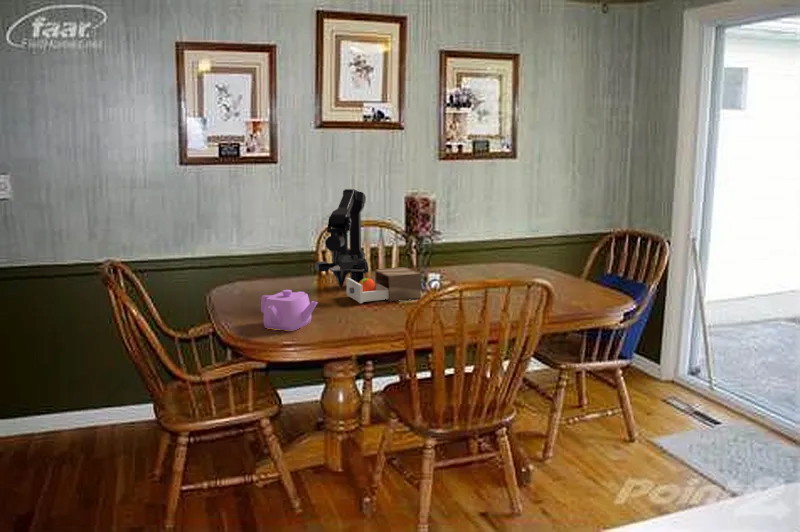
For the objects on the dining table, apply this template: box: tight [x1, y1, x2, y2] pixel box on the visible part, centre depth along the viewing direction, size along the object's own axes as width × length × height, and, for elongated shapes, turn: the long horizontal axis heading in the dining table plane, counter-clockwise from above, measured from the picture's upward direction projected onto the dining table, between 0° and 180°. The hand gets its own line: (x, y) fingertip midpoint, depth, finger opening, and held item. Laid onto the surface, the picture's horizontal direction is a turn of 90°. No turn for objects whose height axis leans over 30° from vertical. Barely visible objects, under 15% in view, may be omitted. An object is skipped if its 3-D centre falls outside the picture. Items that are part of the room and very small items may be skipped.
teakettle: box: [260, 289, 318, 331], centre depth 242 cm, size 17×17×12 cm
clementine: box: [359, 277, 376, 292], centre depth 278 cm, size 8×7×7 cm
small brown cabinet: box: [374, 266, 422, 303], centre depth 283 cm, size 15×13×10 cm
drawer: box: [345, 277, 389, 304], centre depth 278 cm, size 15×14×7 cm
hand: (340, 287), depth 274 cm, fingers closed
